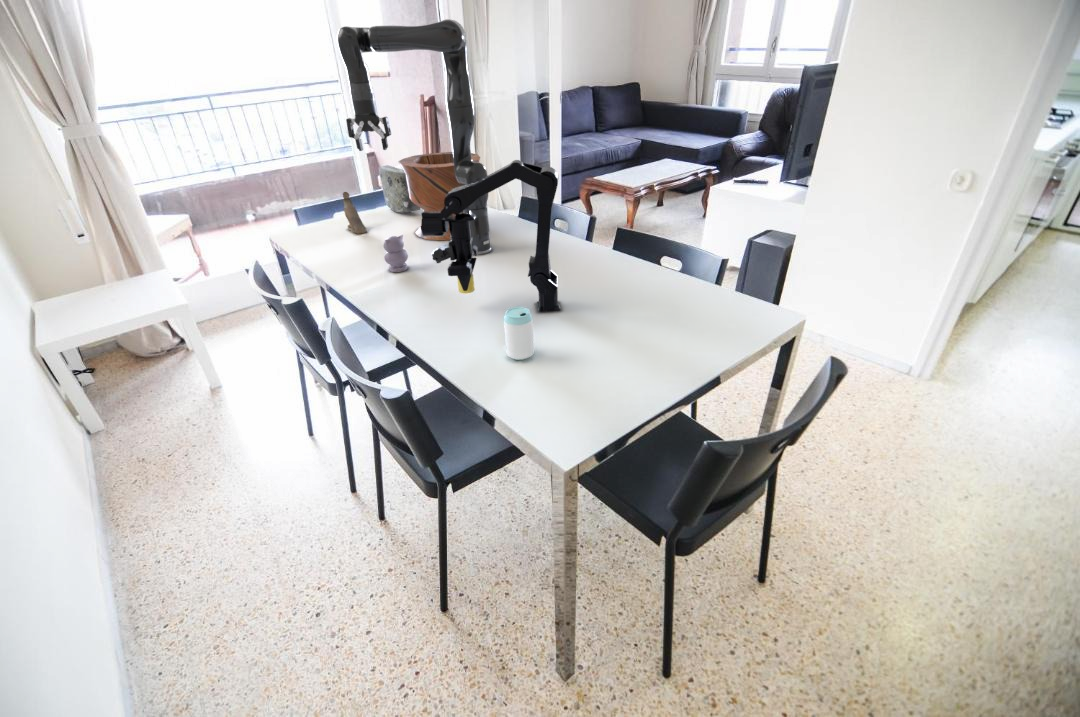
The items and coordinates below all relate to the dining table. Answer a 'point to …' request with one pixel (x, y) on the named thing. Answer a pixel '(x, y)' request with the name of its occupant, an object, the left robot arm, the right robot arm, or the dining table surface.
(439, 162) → the wooden planter
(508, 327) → the can
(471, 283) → the canister
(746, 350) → the dining table surface
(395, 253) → the cat figurine
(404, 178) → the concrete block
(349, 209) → the brown carved statuette
